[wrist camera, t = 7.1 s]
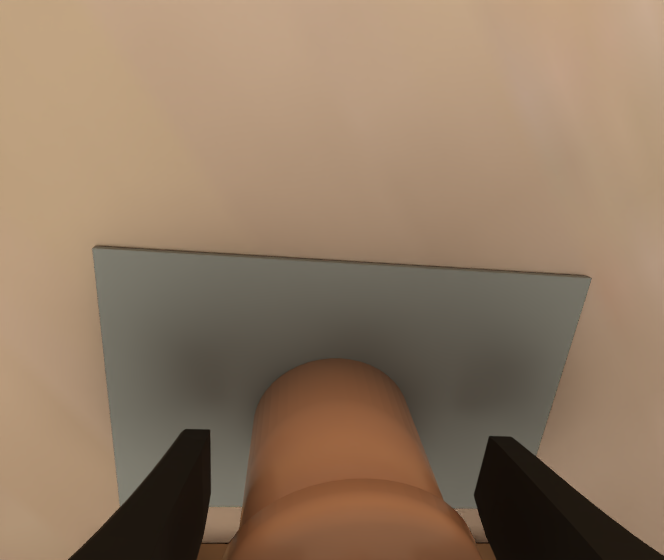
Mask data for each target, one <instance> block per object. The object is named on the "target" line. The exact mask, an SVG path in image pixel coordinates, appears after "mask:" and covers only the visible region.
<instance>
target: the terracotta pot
mask: <svg viewBox="0 0 664 560" xmlns="http://www.w3.org/2000/svg"><path fill="white" fill-rule="evenodd" d="M222 560H483V559H482V557H481V555H480V552H479V550H478V548H477V545H476V543H475V540H474V538H473V536H472V533H471V531H470V529H469V528H468V526H467V524H466V523H465V521H464V520H463V519H462V517H461V516H460V515H459V514H458V513H457V512H456V511H455V510H454V509H453V508H452V507H451V506H449V505H448V504H447V503H446V502H445V501H444V500H443V497H442V495H441V492H440V489H439V487H438V484H437V481H436V479H435V476H434V474H433V471H432V468H431V466H430V463H429V461H428V458H427V455H426V453H425V450H424V447H423V445H422V442H421V440H420V437H419V434H418V432H417V429H416V427H415V424H414V421H413V419H412V416H411V413H410V411H409V408H408V406H407V403H406V400H405V398H404V395H403V394H402V392H401V390H400V389H399V387H398V386H397V385H396V383H395V382H394V381H393V380H392V379H391V378H390V377H389V376H387V375H386V374H385V373H383V372H382V371H380V370H379V369H377V368H375V367H373V366H371V365H369V364H366V363H363V362H360V361H355V360H351V359H342V358H329V359H321V360H316V361H312V362H308V363H305V364H302V365H300V366H297V367H295V368H293V369H291V370H289V371H288V372H286V373H285V374H283V375H282V376H280V377H279V378H278V379H277V380H276V381H274V382H273V383H272V384H271V385H270V387H269V388H268V389H267V390H266V391H265V393H264V394H263V396H262V397H261V399H260V401H259V403H258V405H257V408H256V411H255V415H254V421H253V429H252V436H251V444H250V452H249V459H248V467H247V474H246V482H245V489H244V497H243V504H242V512H241V520H240V527H239V530H238V532H237V533H236V534H235V536H234V537H233V539H232V540H231V541H230V543H229V545H228V547H227V549H226V551H225V553H224V555H223V557H222Z"/></svg>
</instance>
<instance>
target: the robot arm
mask: <svg viewBox="0 0 664 560" xmlns="http://www.w3.org/2000/svg"><path fill="white" fill-rule="evenodd" d="M210 496H211V442H210V429H185V430H183V431H182V432H181V433H180V434H179V436H178V437H177V438H176V440H175V441H174V443H173V444H172V445H171V447H170V448H169V449H168V451H167V452H166V453H165V455H164V456H163V457H162V458H161V460H160V461H159V462H158V463H157V465H156V466H155V467H154V468H153V470H152V471H151V472H150V473H149V475H148V476H147V477H146V478H145V479H144V480H143V482H142V483H141V484H140V485H139V486H138V487H137V489H136V490H135V491H134V492H133V493H132V495H131V496H130V497H129V498H128V499H127V500H126V501H125V502H124V503H123V504H122V506H121V507H120V508H119V509H118V510H117V511H116V512H115V513H114V514H113V515H112V516H111V517H110V518H109V519H108V521H107V522H106V523H105V524H104V525H103V526H102V527H101V528H100V529H99V530H98V531H97V532H96V533H95V534H94V535H93V536H92V537H91V538H90V539H89V540H88V541H87V542H86V543H85V544H84V545H83V546H82V547H81V548H80V549H79V550H78V551H77V552H76V553H74V554H73V555H72V556H71V557H70V558H69V559H68V560H197V557H198V553H199V550H200V546H201V543H202V539H203V535H204V530H205V524H206V519H207V513H208V508H209V502H210ZM474 499H475V502H476V506H477V509H478V512H479V516H480V519H481V522H482V525H483V528H484V531H485V534H486V537H487V539H488V542H489V544H490V546H491V549H492V551H493V553H494V555H495V558H496V560H664V556H663V555H661V554H660V553H659V552H657V551H656V550H654V549H653V548H651V547H650V546H648V545H647V544H645V543H644V542H643V541H641V540H640V539H638V538H637V537H636V536H634V535H633V534H632V533H630V532H629V531H628V530H626V529H625V528H624V527H622V526H621V525H620V524H618V523H617V522H616V521H614V520H613V519H612V518H610V517H609V516H608V515H606V514H605V513H604V512H603V511H601V510H600V509H599V508H598V507H596V506H595V505H594V504H592V503H591V502H590V501H589V500H587V499H586V498H585V497H584V496H583V495H581V494H580V493H579V492H578V491H576V490H575V489H574V488H573V487H572V486H570V485H569V484H568V483H567V482H566V481H564V480H563V479H562V478H561V477H560V476H558V475H557V474H556V473H555V472H554V471H553V470H551V469H550V468H549V467H548V466H547V465H545V464H544V463H543V462H542V461H541V460H540V459H538V458H537V457H536V456H535V455H534V454H532V453H531V452H530V451H529V450H528V449H526V448H525V447H524V446H523V445H522V444H520V443H519V442H518V441H517V440H515V439H514V438H513V437H511V436H489V438H488V442H487V446H486V450H485V453H484V457H483V461H482V465H481V469H480V472H479V476H478V480H477V484H476V488H475V492H474Z"/></svg>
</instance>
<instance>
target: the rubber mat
mask: <svg viewBox="0 0 664 560" xmlns="http://www.w3.org/2000/svg"><path fill="white" fill-rule="evenodd" d="M92 250H93V260H94V269H95V278H96V288H97V297H98V306H99V315H100V325H101V334H102V343H103V353H104V362H105V371H106V381H107V390H108V399H109V409H110V418H111V427H112V437H113V446H114V455H115V465H116V474H117V483H118V493H119V502H120V506H122V504H123V503H124V502H125V501H126V500H127V499H128V498H129V497H130V496H131V495H132V493H133V492H134V491H135V490H136V489H137V487H138V486H139V485H140V484H141V483H142V482H143V480H144V479H145V478H146V477H147V476H148V475H149V473H150V472H151V471H152V470H153V468H154V467H155V466H156V465H157V463H158V462H159V461H160V460H161V458H162V457H163V456H164V455H165V453H166V452H167V451H168V449H169V448H170V447H171V445H172V444H173V443H174V441H175V440H176V438H177V437H178V436H179V434H180V433H181V432H182V431H183V430H185V429H210V442H211V496H210V502H209V507H242V504H243V497H244V489H245V482H246V474H247V467H248V459H249V452H250V444H251V436H252V429H253V421H254V415H255V411H256V408H257V405H258V403H259V401H260V399H261V397H262V396H263V394H264V393H265V391H266V390H267V389H268V388H269V387H270V385H271V384H272V383H273V382H274V381H276V380H277V379H278V378H279V377H280V376H282V375H283V374H285V373H286V372H288V371H289V370H291V369H293V368H295V367H297V366H300V365H302V364H305V363H308V362H312V361H316V360H321V359H329V358H342V359H351V360H355V361H360V362H363V363H366V364H369V365H371V366H373V367H375V368H377V369H379V370H380V371H382V372H383V373H385V374H386V375H387V376H389V377H390V378H391V379H392V380H393V381H394V382H395V383H396V385H397V386H398V387H399V389H400V390H401V392H402V394H403V395H404V398H405V400H406V403H407V406H408V408H409V411H410V413H411V416H412V419H413V421H414V424H415V427H416V429H417V432H418V434H419V437H420V440H421V442H422V445H423V447H424V450H425V453H426V455H427V458H428V461H429V463H430V466H431V468H432V471H433V474H434V476H435V479H436V481H437V484H438V487H439V489H440V492H441V495H442V497H443V500H444V501H445V502H446V503H447V504H448V505H449V506H451V507H452V508H468V509H477V506H476V502H475V499H474V492H475V488H476V484H477V480H478V476H479V472H480V469H481V465H482V461H483V457H484V453H485V450H486V446H487V442H488V438H489V436H511V437H513V438H514V439H515V440H517V441H518V442H519V443H520V444H522V445H523V446H524V447H525V448H526V449H528V450H529V451H530V452H531V453H532V454H534V455H535V456H536V454H537V451H538V448H539V445H540V442H541V439H542V435H543V432H544V429H545V426H546V423H547V419H548V416H549V413H550V410H551V407H552V403H553V400H554V397H555V394H556V391H557V388H558V384H559V381H560V378H561V375H562V372H563V368H564V365H565V362H566V359H567V356H568V352H569V349H570V346H571V343H572V340H573V337H574V333H575V330H576V327H577V324H578V321H579V317H580V314H581V311H582V308H583V305H584V301H585V298H586V295H587V292H588V289H589V285H590V282H591V279H592V278H590V277H588V276H579V275H563V274H546V273H530V272H513V271H497V270H481V269H464V268H448V267H431V266H415V265H398V264H382V263H366V262H349V261H333V260H316V259H300V258H283V257H267V256H251V255H234V254H218V253H201V252H185V251H168V250H152V249H136V248H119V247H103V246H95V247H93V248H92Z"/></svg>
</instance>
